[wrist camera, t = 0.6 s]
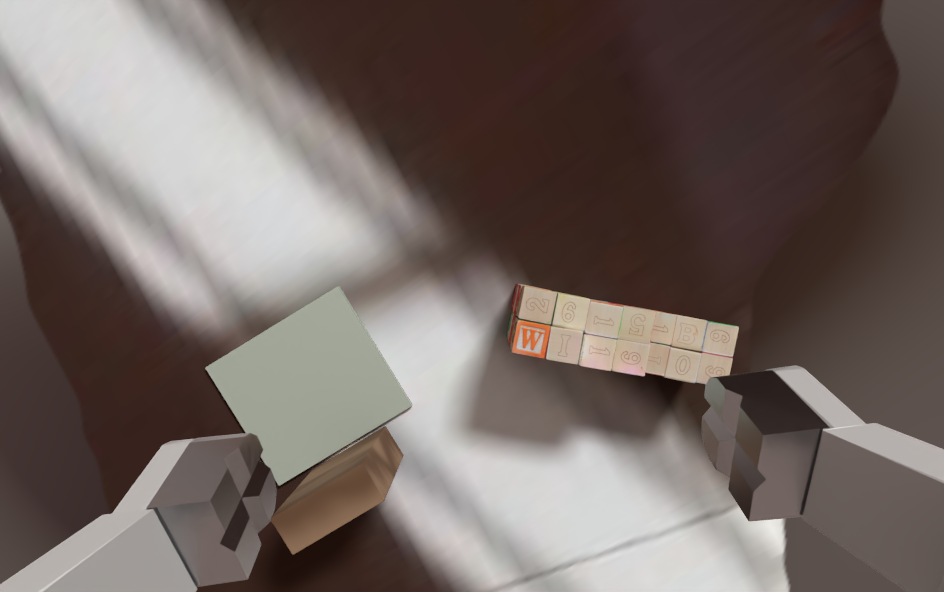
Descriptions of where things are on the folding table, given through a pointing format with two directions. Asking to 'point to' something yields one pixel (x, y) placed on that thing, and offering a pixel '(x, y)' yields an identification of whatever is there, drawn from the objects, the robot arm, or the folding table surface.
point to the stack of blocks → (618, 336)
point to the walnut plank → (339, 491)
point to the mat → (309, 385)
